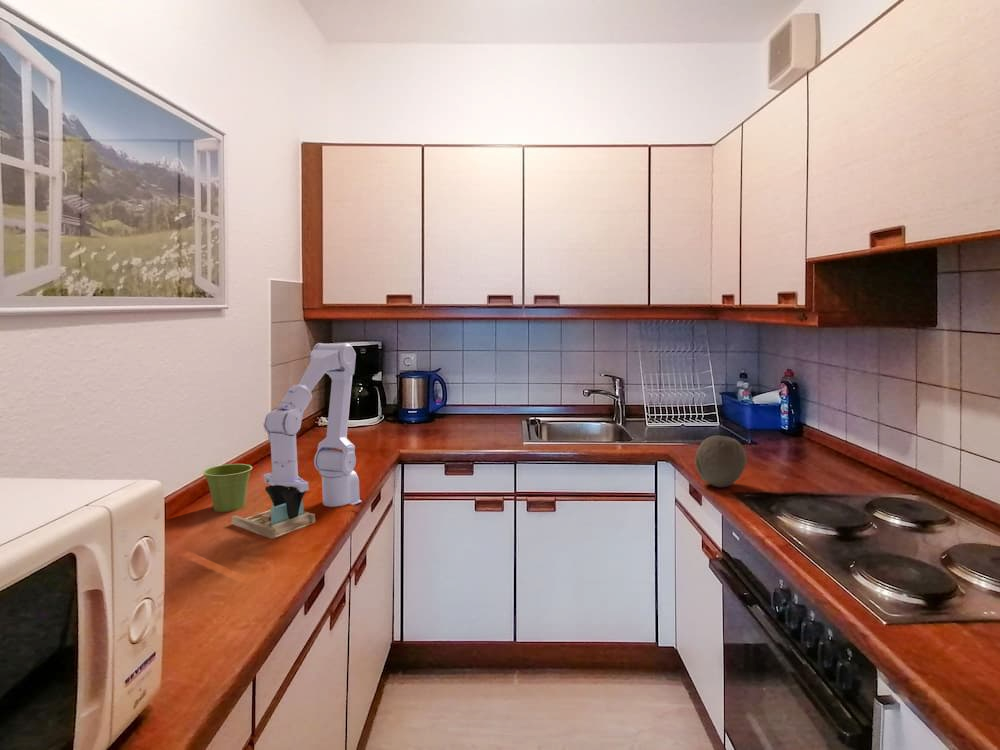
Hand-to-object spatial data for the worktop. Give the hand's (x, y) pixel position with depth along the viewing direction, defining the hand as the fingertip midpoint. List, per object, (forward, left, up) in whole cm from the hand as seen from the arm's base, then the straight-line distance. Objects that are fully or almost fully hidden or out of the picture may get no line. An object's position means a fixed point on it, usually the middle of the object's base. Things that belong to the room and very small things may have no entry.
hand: (287, 515), depth 136 cm
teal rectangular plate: (0, 0, -3) cm, 3 cm away
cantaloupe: (-93, +78, -4) cm, 122 cm away
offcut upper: (0, -5, -2) cm, 5 cm away
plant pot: (-1, -26, -4) cm, 26 cm away
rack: (0, -5, -4) cm, 7 cm away
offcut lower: (0, -5, -3) cm, 6 cm away
